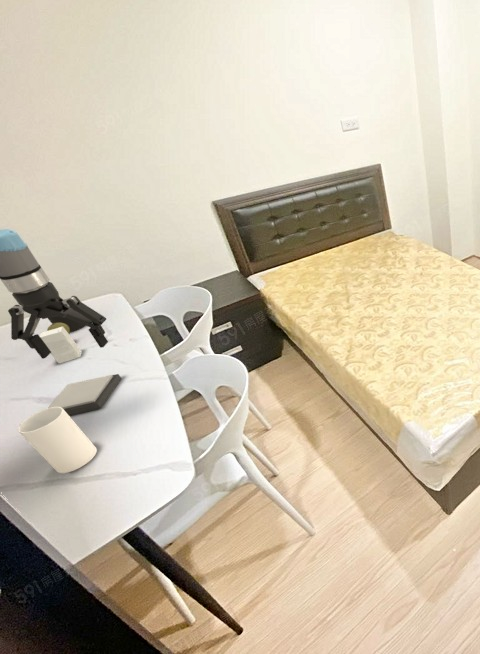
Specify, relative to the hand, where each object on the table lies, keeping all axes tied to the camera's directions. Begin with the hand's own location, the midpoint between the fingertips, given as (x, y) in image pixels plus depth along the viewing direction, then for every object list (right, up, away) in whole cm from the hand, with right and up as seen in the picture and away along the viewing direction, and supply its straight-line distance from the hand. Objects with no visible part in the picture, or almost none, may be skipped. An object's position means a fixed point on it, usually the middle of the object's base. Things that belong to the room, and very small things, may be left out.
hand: (76, 350), depth 115 cm
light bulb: (-43, -5, +38) cm, 58 cm away
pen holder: (-53, 0, +48) cm, 71 cm away
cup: (+8, -29, -7) cm, 31 cm away
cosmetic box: (-35, -9, +31) cm, 48 cm away
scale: (-10, -18, +12) cm, 24 cm away
